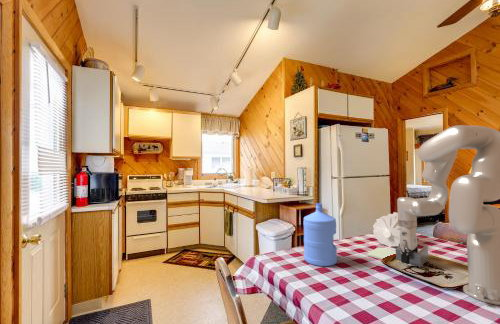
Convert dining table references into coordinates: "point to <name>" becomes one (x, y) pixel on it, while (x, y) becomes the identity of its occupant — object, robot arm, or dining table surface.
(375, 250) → the board
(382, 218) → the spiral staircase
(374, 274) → the dining table surface
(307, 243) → the water jug
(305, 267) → the dining table surface
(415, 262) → the c link
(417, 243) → the stand
